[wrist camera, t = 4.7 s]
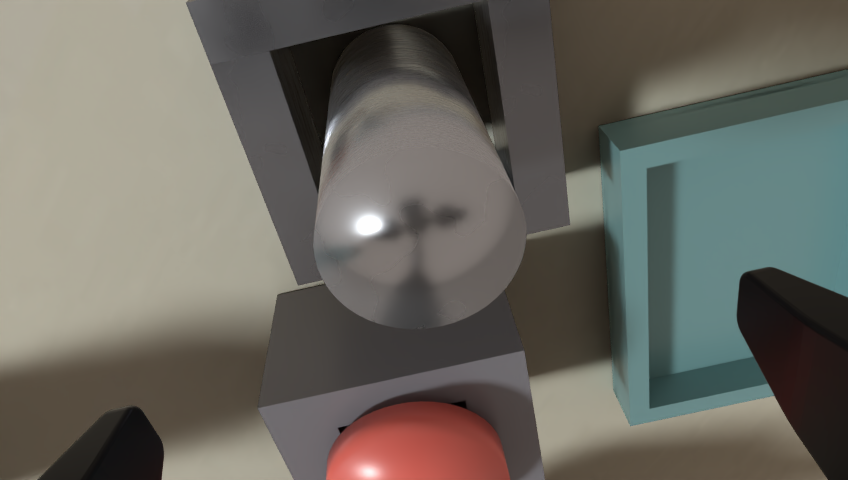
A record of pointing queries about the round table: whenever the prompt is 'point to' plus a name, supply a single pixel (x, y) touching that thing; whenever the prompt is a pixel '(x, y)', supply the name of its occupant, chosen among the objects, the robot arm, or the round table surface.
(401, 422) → the release button
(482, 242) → the shiny silver cylinder
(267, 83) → the socket
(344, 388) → the block
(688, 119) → the tray
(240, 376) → the round table surface
